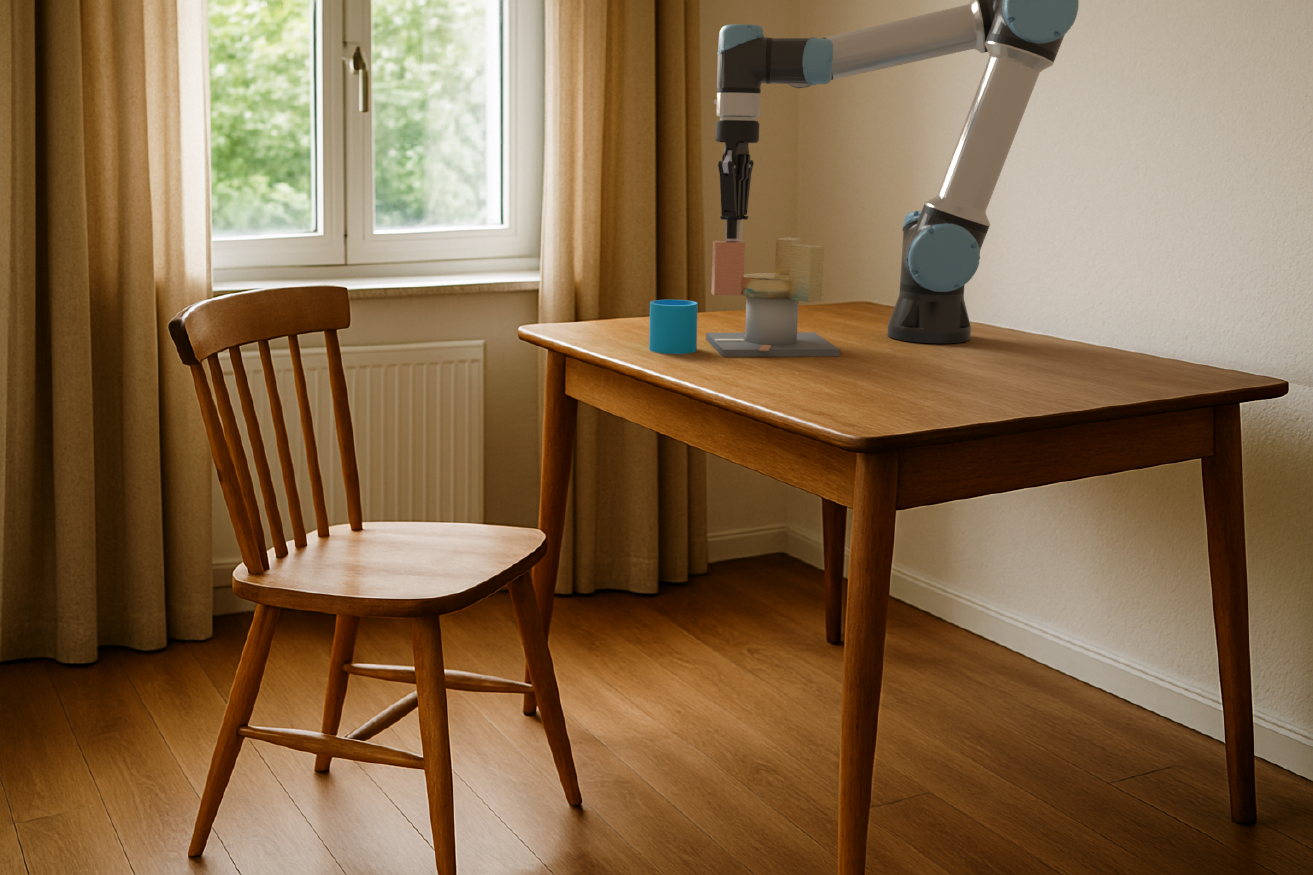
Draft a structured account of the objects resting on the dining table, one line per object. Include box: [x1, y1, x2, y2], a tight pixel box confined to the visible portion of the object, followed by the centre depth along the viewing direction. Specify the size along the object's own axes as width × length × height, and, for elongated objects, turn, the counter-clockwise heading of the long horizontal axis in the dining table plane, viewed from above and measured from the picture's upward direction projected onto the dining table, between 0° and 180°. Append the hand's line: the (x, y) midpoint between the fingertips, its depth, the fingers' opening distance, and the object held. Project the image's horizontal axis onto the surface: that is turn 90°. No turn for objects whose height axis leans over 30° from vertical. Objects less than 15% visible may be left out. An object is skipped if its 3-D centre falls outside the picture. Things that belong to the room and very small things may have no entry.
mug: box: [648, 299, 699, 355], centre depth 216 cm, size 12×8×8 cm
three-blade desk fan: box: [710, 236, 825, 303], centre depth 215 cm, size 17×20×9 cm
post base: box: [705, 297, 841, 358], centre depth 217 cm, size 20×20×9 cm
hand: (733, 257), depth 220 cm, fingers closed
